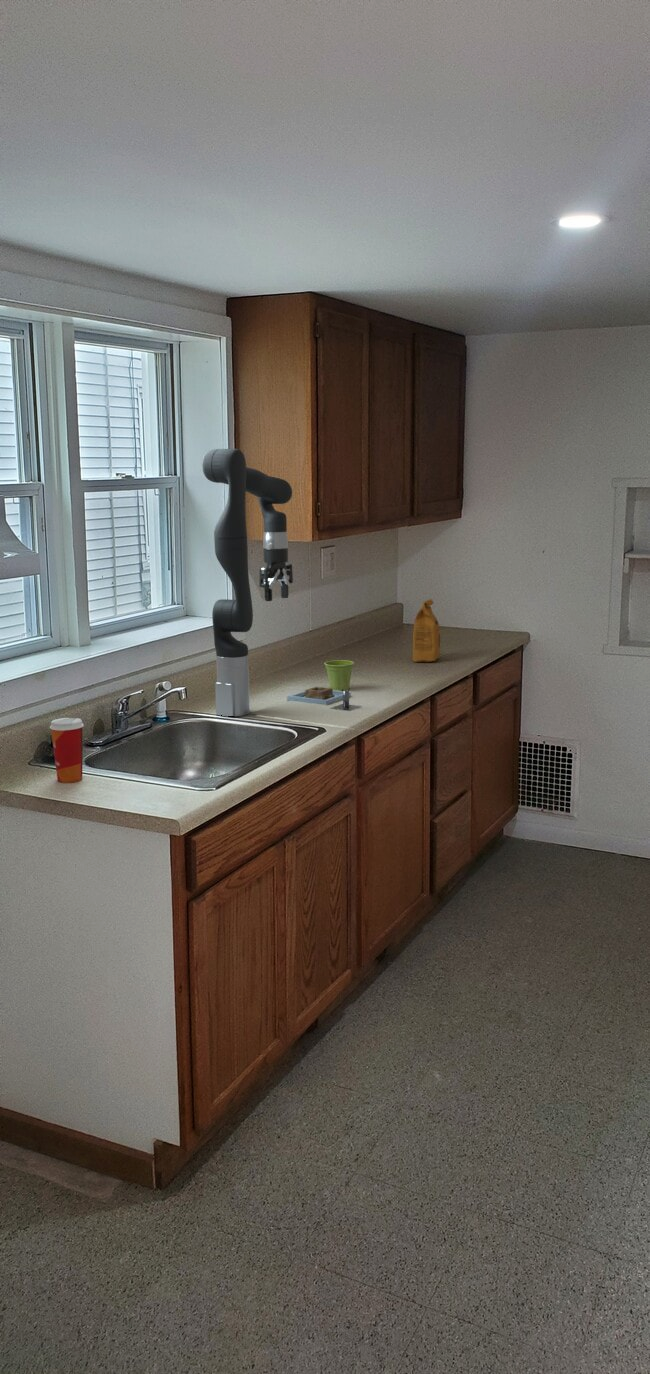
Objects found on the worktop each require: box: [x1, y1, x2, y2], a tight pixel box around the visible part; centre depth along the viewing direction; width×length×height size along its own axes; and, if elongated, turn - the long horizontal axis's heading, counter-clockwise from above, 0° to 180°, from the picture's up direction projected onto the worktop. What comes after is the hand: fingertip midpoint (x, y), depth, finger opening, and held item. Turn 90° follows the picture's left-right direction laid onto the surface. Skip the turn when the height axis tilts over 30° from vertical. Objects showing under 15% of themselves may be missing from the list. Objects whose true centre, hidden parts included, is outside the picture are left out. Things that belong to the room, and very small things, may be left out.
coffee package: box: [412, 598, 441, 663], centre depth 401 cm, size 10×12×22 cm
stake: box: [329, 689, 363, 712], centre depth 323 cm, size 7×7×6 cm
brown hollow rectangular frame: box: [304, 686, 336, 700], centre depth 336 cm, size 8×6×3 cm
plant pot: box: [323, 659, 355, 691], centre depth 353 cm, size 9×9×9 cm
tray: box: [286, 690, 352, 706], centre depth 336 cm, size 14×14×2 cm
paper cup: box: [49, 717, 85, 784], centre depth 254 cm, size 8×8×14 cm
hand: (276, 599), depth 340 cm, fingers open, 8 cm apart
